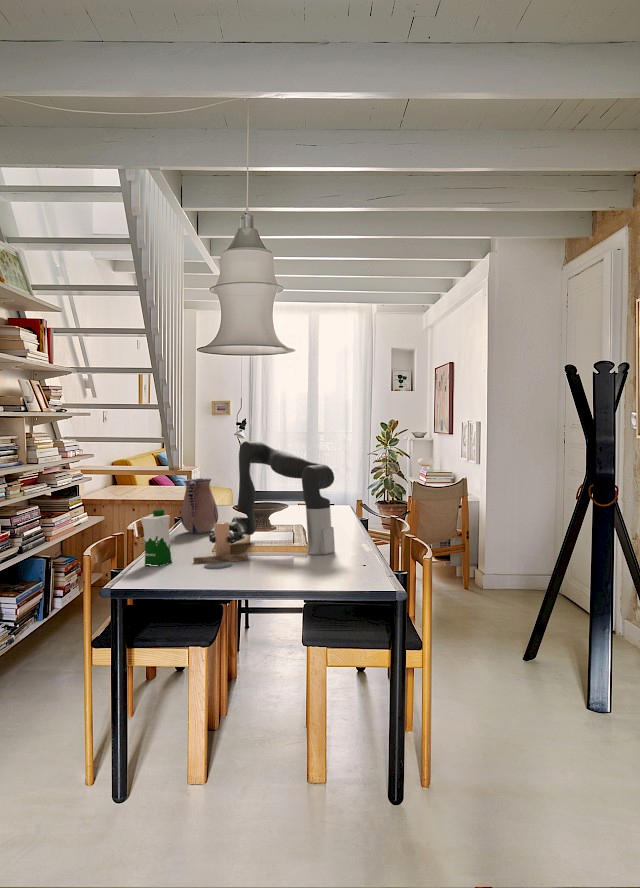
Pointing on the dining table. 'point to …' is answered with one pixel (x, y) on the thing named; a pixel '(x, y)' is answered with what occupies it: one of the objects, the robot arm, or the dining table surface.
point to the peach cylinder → (222, 538)
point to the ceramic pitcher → (198, 506)
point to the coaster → (218, 565)
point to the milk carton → (157, 538)
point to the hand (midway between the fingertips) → (220, 540)
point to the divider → (220, 558)
